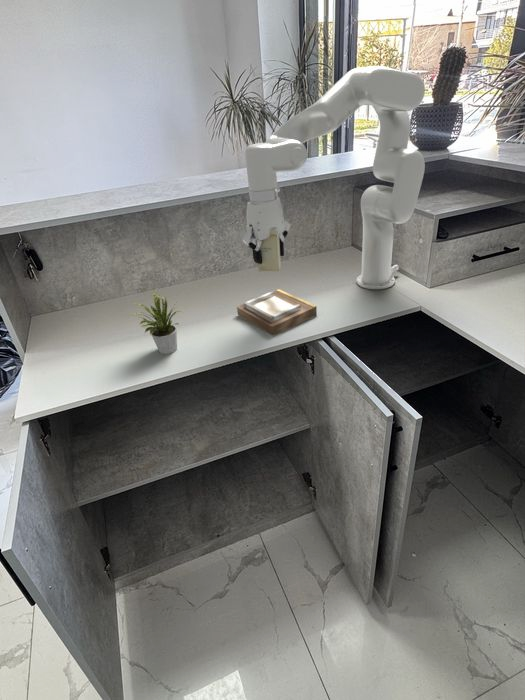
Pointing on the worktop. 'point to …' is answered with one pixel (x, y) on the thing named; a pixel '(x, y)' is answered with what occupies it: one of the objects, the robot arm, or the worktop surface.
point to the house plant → (161, 326)
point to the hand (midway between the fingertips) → (269, 258)
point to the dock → (276, 311)
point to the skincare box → (270, 252)
